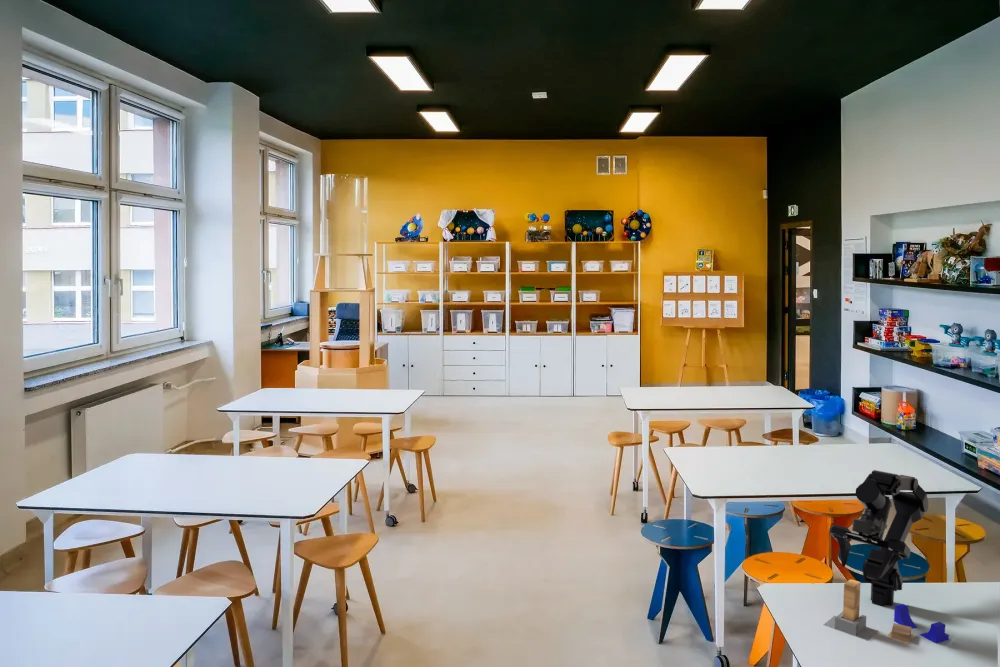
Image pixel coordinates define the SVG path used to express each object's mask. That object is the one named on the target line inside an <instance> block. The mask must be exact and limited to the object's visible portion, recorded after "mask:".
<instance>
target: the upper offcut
mask: <svg viewBox="0 0 1000 667" xmlns="http://www.w3.org/2000/svg"><path fill="white" fill-rule="evenodd" d="M891 628H892V629H891V631H892V633H891V638H890V639H892V638H894V639H893V640H895V639H899V640H903V641H907V642H909V643H910V642H911V641H910V637H911V634H912V629H911V628H912V627H908V626H904V625H900V624H898V623H896V622H894V623H893V624H892V626H891Z"/></svg>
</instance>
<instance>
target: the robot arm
mask: <svg viewBox="0 0 1000 667" xmlns="http://www.w3.org/2000/svg"><path fill="white" fill-rule="evenodd" d="M907 491H911V492H912V493H911V492H907ZM886 495H891V497H892V501H891V498H890V497H889V496H886ZM855 496H856V498H857V499H858V500H859V502H860V503H861V504H862V506H864V512H863V513H861V515H860V518H853V519H852V528H851V530H852V531H851V530H850V529H849V528H848V527H846V526H843V525H837V524H833V525H832V526H830V528H829V534H830V536H832V537H833V539H834V540H836V542H837V543H838V545H839V551H840V559H841V560H840V561H841V567H842V568H845V567H846V565H847V562H848V559H849V555H850V550H851V546H852V544H851V543H850V542H851V541H856V542H858V543H863V544H865V545H871V546H874V547H879V549H876V548H872V549H871V550H870V552H869V554H868V556H867V558H866V560H865V561H864V562H863V564H862V576H863V582H864V583H868V584H870V601H871V604H873V605H876V606H879V607H886V606H887V607H891V606H893V605H894V601H895V592H898V591H902V590H903V582H904V579H903V578H904V577H903V576H902V574H901V572H900V568H899V563H898V561H903V560H904V558H905V559H910V556H911V549H910V547H909V546H908V544H907V543H906V542H905V541H906V539H907V536H908V534H909V532H910V530H911V528H912V525H913V524H914V523H916V522H918V521H920V520H922V519H923V517H924V515H925V514H926V513H927V512H928V509H929V499H928V494H927V492H926V491H925V490H924V489H923V488H922V486H920V484H919V480H918V478H916V477H914V476H911V475H905V474H897V473H891V472H886V471H881V470H877V469H874V470H872V471H871V473H869V474H868V476H866V478H865V479H864V481H863V482H862V483H860V484H859V485H858V486H857V487H856V489H855ZM892 502H893V503H892ZM892 506H894V511H895V512H894V513H895V515H894V517H893V520H892V521H891V524H890V526H889V528H888V531H887V532H886V535H885V537H884V534H885V531H886V529H887V527H888V525H887V523H888V519H889V515H890V511H891V508H892ZM855 532H856V533H855Z"/></svg>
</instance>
